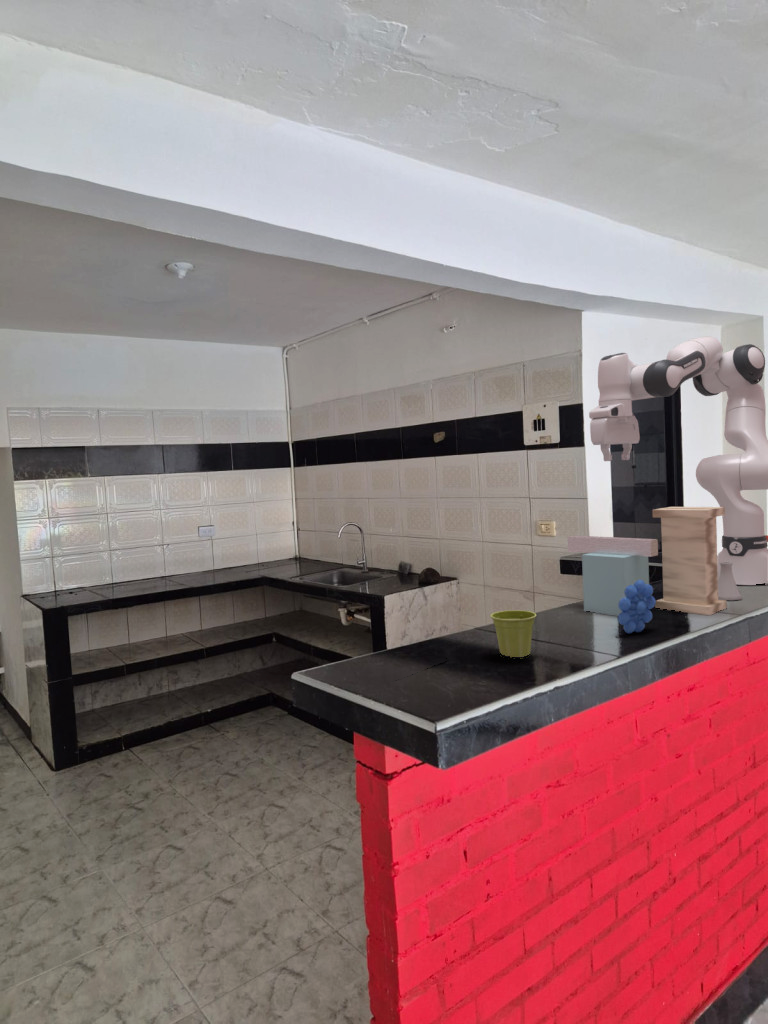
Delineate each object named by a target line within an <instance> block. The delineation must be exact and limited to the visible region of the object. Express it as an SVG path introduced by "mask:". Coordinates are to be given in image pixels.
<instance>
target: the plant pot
mask: <svg viewBox="0 0 768 1024" xmlns="http://www.w3.org/2000/svg"><path fill="white" fill-rule="evenodd" d="M536 617H537V614H536V612H533V611H528V610H521V609H516V610H514V609H513V610H512V609H511V610H510V609H509V610H501V611H496V612H493V613H491V614H490V618H491V619H492V622H493V625H494V627H495V633H496V637H497V643H498V649H499V654H500V653H501V654H502V655H505V656H510V658H512V657H524V656H527V655H529V654H530V655H531V649H532V637H533V628H534V626H533V625H534V623H535V618H536ZM530 655H529V656H530Z"/></svg>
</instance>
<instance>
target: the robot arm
mask: <svg viewBox="0 0 768 1024" xmlns="http://www.w3.org/2000/svg"><path fill="white" fill-rule="evenodd" d="M723 351H724V349H723V344H722V343H721V342H720V341H719V340H718V339H717V338H715V337H713V336H710V335H709V336H698V337H696V338H690V339H688V340H685V341H683V342H681V343H679V344H678V345H676V346H674V347H673V348H671V350H669V351H668V353H667V356H666V359H662V360H658V361H655V362H650V363H645V364H639V365H638V364H636V363H634V362H633V361H632V360H630V359H629V355H628V353H627V352H626V353H625V352H619V353H614V354H609V355H606V356H603V357H601V358H600V360H599V363H598V369H597V388H598V392H599V398H598V406H596V407H594V408H593V409H591V410H589V412H588V416H589V419H591V421H590V424H589V432H590V441H591V443H592V445H593V446H600V451H601V453H602V455H603V461H604V462H611V461H612V462H613V454H611V451H610V449H611V445H622V448H623V450H622V453H621V454H620V455H621V456H620V457H621V461H629V460H630V459H631V456H630V455H631V452H632V447H633V444H639V442H640V438H641V436H640V427H639V421H638V419H637V418H636V416H635V415H634V412H633V405H632V403H633V401H637V400H646V399H652V398H654V399H655V398H665V397H666V398H667V397H671V396H672V395H674V394H675V392H677V390H678V389H679V388H680V386H681V385H682V384H683V383H685V382H686V381H689V380H690V379H692V383H693V387H694V388H695V390H696V391H697V392H698V393H699V394H700V395H702V396H704V397H712V396H713V397H714V396H717V395H719V394H721V393H724V392H726V395H727V401H726V408H725V416H724V418H725V419H724V420H725V421H724V438H725V440H726V441H727V443H729V445H732V446H733V447H735V448H737V449H740V450H743V451H744V452H743V453H732V454H718V455H711V456H709V457H704V458H702V459H701V460H700V461H699V463H698V464H697V466H696V469H695V477H696V481H697V483H698V485H699V486H700V487H701V488H702V489H704V490H706V491H707V492H708V493H709V494H710V495H712V496H713V498H714V499H715V501H716V502H717V503H718V507H725V515H722V527H723V528H722V530H723V532H722V533H723V535H722V537H721V547H722V550H721V551H720V552H718V553H717V572H718V580H719V577H720V572H721V565H720V562H732V563H733V565H732V574H733V578H734V580H735V583H736V586H737V585H740V586H757V585H756V584H762V583H768V535H767V534H766V535H765V513H764V510H763V509H762V507H761V506H760V505H758V504H756V503H754V502H753V501H749V500H747V499H745V498H744V497H743V496H742V495H741V491H758V490H760V491H761V490H764V491H765V490H768V437H767V431H766V412H767V411H766V399H765V394H764V389H763V387H762V386H761V385H760V384H759V383H760V381H762V379H763V376H764V372H765V369H766V368H765V367H766V358H765V355H764V353H763V351H762V350H761V349H760V348H759V347H758V346H756V345H754V344H750V343H748V344H743V345H740V346H737V347H736V348H734V349H731V350H729V351H726V352H723Z"/></svg>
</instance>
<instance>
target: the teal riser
mask: <svg viewBox="0 0 768 1024" xmlns="http://www.w3.org/2000/svg"><path fill="white" fill-rule="evenodd" d="M581 564H582V566H581V567H582V570H581V571H582V593H583V594H582V595H583V612H586V611H590V612H589V613H593V612H595V613H594V614H600V613H601V614H602V615H607V616H608V615H609V616H616V617H618V616H619V614H620V613H621V612H623V611H621V610H620V609H619V606H618V603H619V601H620V600H621V599H622V598H624V597H626V596H625V593H624V591H625V589H626V587H627V586H629V585H634V583H635V582H636V581H638V580H643V581H644V582H645V584H649V585H650V575H649V573H650V569H649V567H650V566H649V557H646V556H631V555H616V554H600V553H583V554H581Z"/></svg>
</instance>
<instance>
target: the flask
mask: <svg viewBox="0 0 768 1024" xmlns="http://www.w3.org/2000/svg"><path fill="white" fill-rule="evenodd" d="M720 565H721V572H720V577H719V580H718V600H726V601H738V600H743V599H742V596H741V593H740V591H739V588H738V586H737V585H736V583H735V580H734V578H733V574H732V565H733V563H732V562H720Z"/></svg>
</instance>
